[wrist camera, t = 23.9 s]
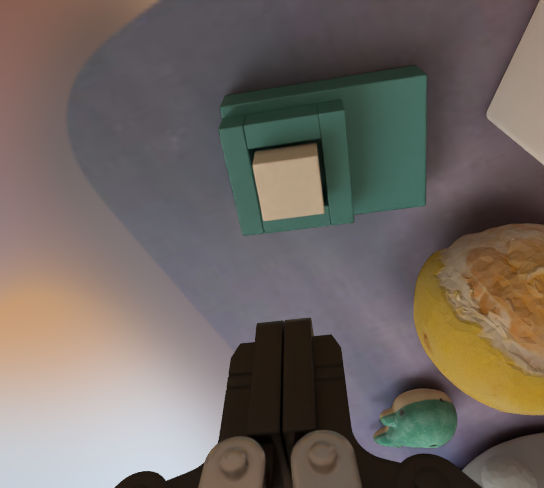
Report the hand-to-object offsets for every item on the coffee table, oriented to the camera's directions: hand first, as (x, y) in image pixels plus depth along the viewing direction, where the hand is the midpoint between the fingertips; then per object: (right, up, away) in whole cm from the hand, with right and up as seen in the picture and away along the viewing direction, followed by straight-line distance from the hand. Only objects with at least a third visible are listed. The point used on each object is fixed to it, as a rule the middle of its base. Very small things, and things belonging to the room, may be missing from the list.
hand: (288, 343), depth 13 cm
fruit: (+13, +2, +17) cm, 21 cm away
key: (0, +6, +10) cm, 12 cm away
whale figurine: (+10, -10, +24) cm, 28 cm away
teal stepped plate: (+2, +8, +13) cm, 16 cm away
